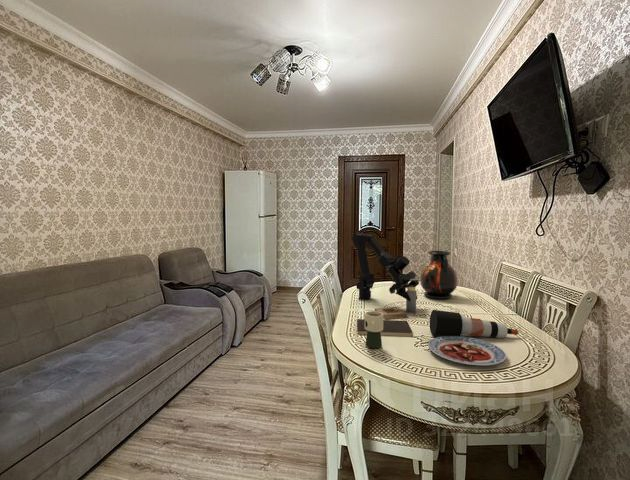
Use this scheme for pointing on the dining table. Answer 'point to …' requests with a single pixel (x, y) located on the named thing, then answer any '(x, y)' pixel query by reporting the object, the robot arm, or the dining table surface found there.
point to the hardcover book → (388, 328)
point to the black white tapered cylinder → (466, 326)
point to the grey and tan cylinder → (411, 304)
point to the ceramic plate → (467, 350)
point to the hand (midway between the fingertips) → (413, 299)
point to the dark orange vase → (438, 277)
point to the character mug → (373, 328)
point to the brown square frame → (389, 315)
